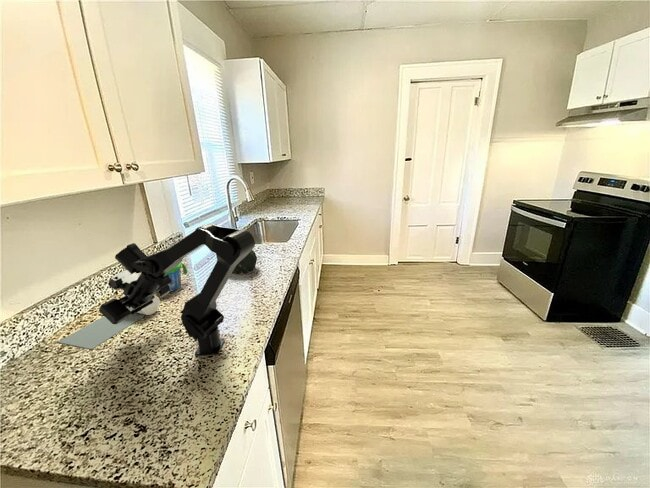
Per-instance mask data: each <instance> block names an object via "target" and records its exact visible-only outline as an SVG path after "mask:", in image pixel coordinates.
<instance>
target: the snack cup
mask: <svg viewBox="0 0 650 488" xmlns="http://www.w3.org/2000/svg"><path fill="white" fill-rule="evenodd" d="M181 268H182V273H183V274H184V275H187V274H188V269H187V266H186V265H185V263H183V262H181V263H180V264H179V265H178V266H177V267H176V268H174V269H172V270H170V271H168V272H166V274H167V275H169V277H170V278H171V280H172V282H171V283H170V284H168V285H169V286H170V291H169V292H173V291H176V290H178V289H180V287H181V286H182V275H181Z"/></svg>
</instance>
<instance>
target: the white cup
mask: <svg viewBox="0 0 650 488" xmlns="http://www.w3.org/2000/svg"><path fill="white" fill-rule="evenodd" d="M122 294H123V293H122ZM124 296H125V295H124V294H123V295H122V296H121V298H122V297H124ZM127 296H128V295H127ZM154 296H155V298H154V299H153V303H152V304H150V305H148V306H147V307H145V308H143V309H142V310H140V311H138V312H137V313H136V314H140V315H145V316H151V315H153V314H155V313H156V312H157V311H158V310H159V307H160V306H161V300H160V297H158V296H157V295H154Z"/></svg>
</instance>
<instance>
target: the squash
mask: <svg viewBox="0 0 650 488" xmlns="http://www.w3.org/2000/svg"><path fill="white" fill-rule="evenodd" d="M257 261H258V257H257V253H256V252H255V251H254V249H252V250H251V251H250V252H249V254H248V255H247V256H246V257H245V258H243V259H242V260H241V261H240V262H239V263H238V264H237V265H236V267H235V268H234V270H233V272H232V274H235V275H241V274H248V273H249V272H252V271H254V270H255V267H256V264H257ZM232 274H231V275H232Z"/></svg>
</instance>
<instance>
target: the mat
mask: <svg viewBox="0 0 650 488" xmlns="http://www.w3.org/2000/svg"><path fill="white" fill-rule="evenodd" d="M144 317H146V315H145V314H140V313H135V314H131V315H129V316H128V317H127V318H126V319H125V320H123V321H121V322H120V323H118V324H112V323H111V322H110V321H109V320H108V319H107V318H106V317H105V316H104V315H103V316H102V317H100V318H98V319H96V320H95V321H93V322H91V323H89V324H87V325H86V326H84V327H81V328H80V329H79V330H76V331H74V332H72V333H71V334H69V335H67V336H66V337H64V338H61V339H60V340H57V344H63V345H68V346H73V347H77V348H82V349H88V350H94V349H96V348H97V347H99V346H100V345H102V344H103V343H105V342H106V341H108V340H110V339H111V338H112V337H115V336H116V335H117V334H119V333H120V332H122V331H123V330H125V329H127V328H129V327H130V326H132V325H134V324H135V323H137V322H138V321H139V320H141V319H143V318H144Z"/></svg>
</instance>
